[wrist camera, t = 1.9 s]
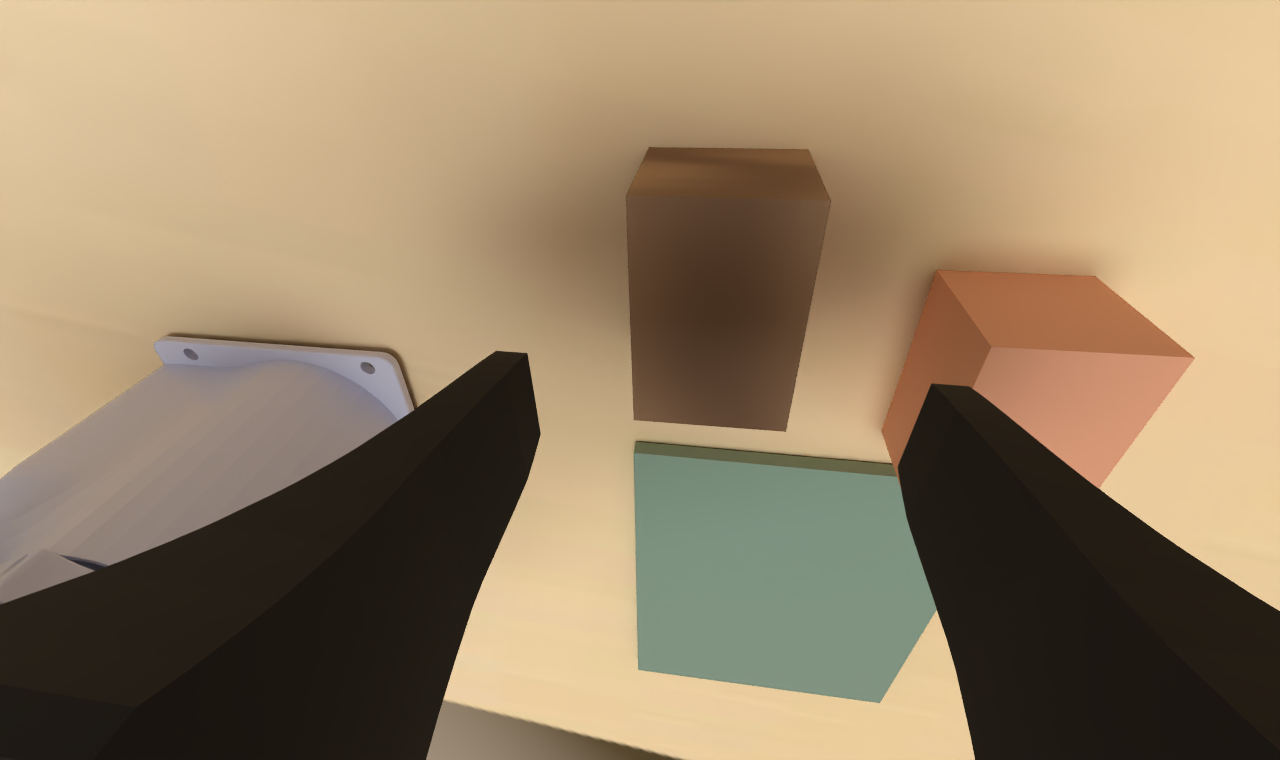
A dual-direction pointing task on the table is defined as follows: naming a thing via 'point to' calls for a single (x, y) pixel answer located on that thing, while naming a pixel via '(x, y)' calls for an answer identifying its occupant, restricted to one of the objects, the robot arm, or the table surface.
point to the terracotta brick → (1041, 362)
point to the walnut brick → (721, 282)
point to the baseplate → (775, 570)
